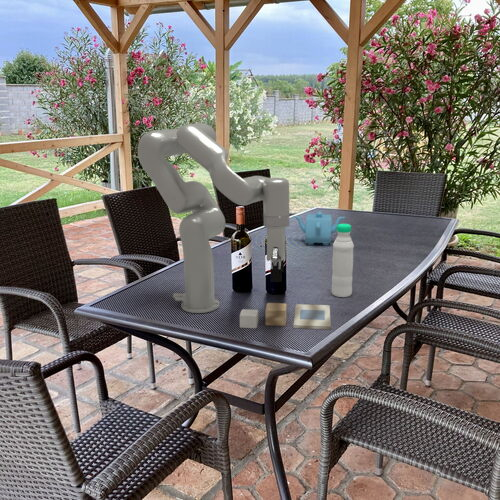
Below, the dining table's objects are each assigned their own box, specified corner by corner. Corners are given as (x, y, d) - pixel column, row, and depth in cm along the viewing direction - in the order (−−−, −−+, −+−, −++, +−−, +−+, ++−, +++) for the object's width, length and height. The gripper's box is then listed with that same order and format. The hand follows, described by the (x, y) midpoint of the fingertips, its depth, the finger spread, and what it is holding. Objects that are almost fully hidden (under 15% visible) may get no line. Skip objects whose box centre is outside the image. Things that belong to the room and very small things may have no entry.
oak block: (265, 325, 158) (265, 310, 156) (267, 317, 163) (267, 302, 162) (285, 326, 157) (285, 310, 156) (286, 318, 163) (286, 303, 161)
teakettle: (317, 250, 239) (318, 218, 235) (290, 241, 254) (291, 212, 250) (346, 243, 250) (347, 213, 246) (319, 235, 264) (319, 207, 260)
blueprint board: (293, 328, 155) (293, 324, 155) (295, 307, 171) (295, 304, 171) (330, 329, 154) (330, 326, 154) (329, 308, 170) (329, 305, 170)
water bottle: (349, 290, 186) (352, 222, 179) (353, 297, 179) (356, 226, 172) (329, 291, 186) (331, 222, 179) (333, 298, 179) (335, 227, 172)
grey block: (239, 327, 156) (239, 315, 155) (242, 321, 161) (242, 309, 160) (256, 328, 156) (256, 316, 154) (258, 322, 160) (258, 309, 159)
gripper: (266, 215, 160) (267, 268, 165) (260, 227, 144) (262, 285, 148) (290, 214, 159) (291, 268, 164) (287, 227, 143) (288, 286, 147)
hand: (277, 276), depth 156 cm, fingers open, 9 cm apart
